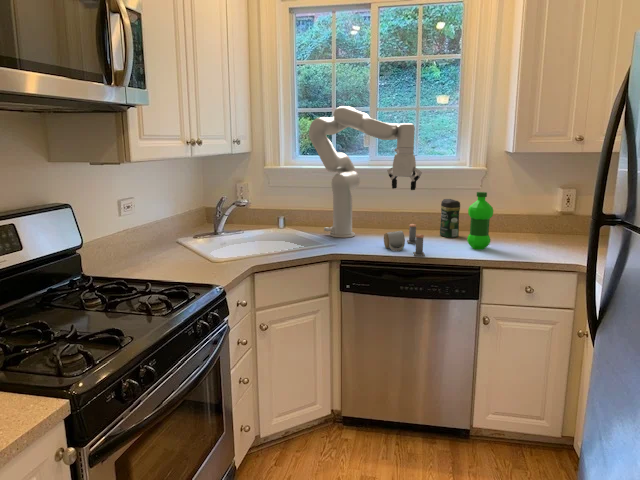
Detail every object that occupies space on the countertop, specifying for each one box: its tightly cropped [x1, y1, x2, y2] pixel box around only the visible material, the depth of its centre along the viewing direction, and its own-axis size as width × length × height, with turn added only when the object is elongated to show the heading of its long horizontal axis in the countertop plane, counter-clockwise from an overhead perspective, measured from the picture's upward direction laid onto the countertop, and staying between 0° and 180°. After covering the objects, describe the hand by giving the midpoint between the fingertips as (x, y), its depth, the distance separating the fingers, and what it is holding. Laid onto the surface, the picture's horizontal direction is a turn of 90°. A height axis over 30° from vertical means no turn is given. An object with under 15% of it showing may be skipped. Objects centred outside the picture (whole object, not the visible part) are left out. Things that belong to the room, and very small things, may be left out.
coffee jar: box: [439, 198, 461, 239], centre depth 245 cm, size 10×8×19 cm
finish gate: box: [406, 223, 426, 257], centre depth 220 cm, size 4×28×9 cm, turn 176°
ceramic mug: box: [383, 230, 406, 252], centre depth 220 cm, size 11×8×8 cm
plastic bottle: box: [466, 191, 494, 251], centre depth 219 cm, size 10×10×25 cm
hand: (403, 189), depth 229 cm, fingers open, 9 cm apart
